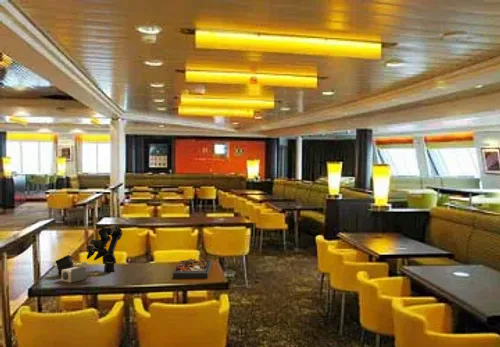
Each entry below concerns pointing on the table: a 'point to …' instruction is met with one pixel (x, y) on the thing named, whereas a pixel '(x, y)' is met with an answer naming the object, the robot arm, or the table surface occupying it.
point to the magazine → (64, 264)
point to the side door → (79, 273)
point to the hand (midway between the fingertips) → (90, 259)
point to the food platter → (192, 269)
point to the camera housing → (67, 274)
